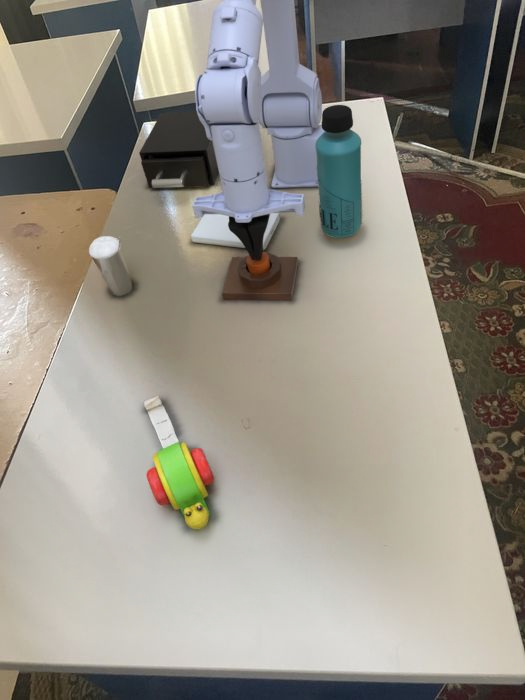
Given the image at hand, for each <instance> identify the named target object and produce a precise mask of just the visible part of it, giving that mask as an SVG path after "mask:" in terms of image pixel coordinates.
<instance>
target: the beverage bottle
mask: <svg viewBox="0 0 525 700" xmlns="http://www.w3.org/2000/svg"><path fill="white" fill-rule="evenodd" d="M321 125H322V129H323V130H324V131H325V132H324V133H323V134H322V135H321V136H320V137H319V138H318V139H317V141H316V144H315V147H316V154H317V162H316V163H317V170H318V172H317V173H318V180H317V181H318V185H319V186H318V196H319V197H318V198H319V199H318V200H319V203H318V208H319V209H318V211H319V220H320V223H319V224H320V227H321V229H322V231H323V232H324V233H325V234H326V235H327V236H329V237H332V238H336V239H345V238H349V237H352V236H354V235H356V234H357V233H358V232H359V231H360V229H361V227H362V224H363V222H364V220H363V218H364V217H363V216H364V211H363V210H364V209H363V208H364V207H363V205H364V203H363V196H362V188H363V186H362V185H363V183H362V138H361V136H360V135H359V134H358V133H357V132H355V131H354V130H352V128H353V126H354V119H353V110H352V109H351V107H350V106H348V105H345V104H334V105H330V106H327V107H326V108H324V109H323V110H322V115H321Z"/></svg>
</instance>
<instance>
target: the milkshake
mask: <svg viewBox="0 0 525 700" xmlns="http://www.w3.org/2000/svg"><path fill="white" fill-rule="evenodd" d="M121 238H122V236H121V235H120V236H119V239H118V238H117V237H114V236H112V235H103V236H99V237H97V238H95V239H94V240H93V241H92V242H91V244H90V245H89V248H88V253H89V255H90V257H91V258H92V261H93V262H94V263H95V265H96V268H97V269H98V271H99V272H100V274H101V276H102V278H103V279H104V282H105V283H106V285H107V287H108V289H109V291H110V292H111V294H112V295H114V296H115V297H123V296H126V295H128V294H129V293H130V292H131V291H132V290H133V282H132V279H131V275H130V273H129V268H128V266H127V262H126V259H125V256H124V251H123V248H122V243H121Z"/></svg>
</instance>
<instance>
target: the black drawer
mask: <svg viewBox="0 0 525 700" xmlns="http://www.w3.org/2000/svg"><path fill="white" fill-rule="evenodd" d="M140 164H141V167H142V171H143V173H144V176H145V179H146V182H147V186H148V188H149V189H156V188H158V189H159V188H162V189H163V188H189V187H192V188H193V187H209V186H210V185H209V179H208V171H207V167H206V163H205V158H204V154H184V155H160V156H149V159H142V160H141V162H140Z"/></svg>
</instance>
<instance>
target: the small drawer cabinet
mask: <svg viewBox="0 0 525 700" xmlns="http://www.w3.org/2000/svg"><path fill="white" fill-rule="evenodd" d="M184 154H204V158H205V163H206V167H207V171H208V179H209V185H208V186H214V185H215V183H216V181H217V177H218V175H219V170H218V165H217V161H216V156H215V151H214V146H213V142H212V141H211V140H209V139H208V138H207V135H206V131H205V127H204V125H203V124H202V123H201V121H200V119H199V117H198V114H197V110H196V111H180V112H164V113H160V114H159V116H158V118H157V119H156V121H155V123H154V125H153V126H152V128H151V131H150V132H149V134H148V136H147V138H146V140H145V142H144V143H143V145H142V146H141V149H140V151H139V152H138V155H139V156H140V160H141V161H142V159H149V156H160V155H184Z"/></svg>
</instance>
